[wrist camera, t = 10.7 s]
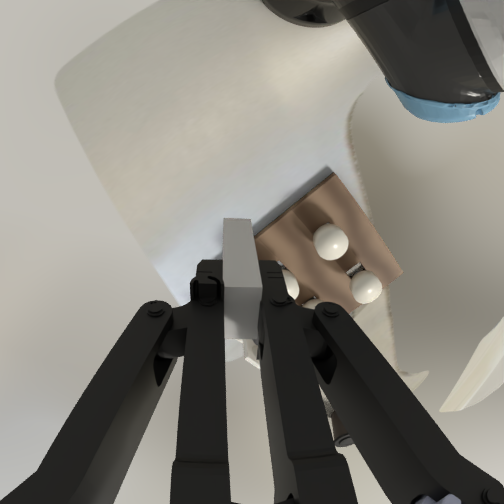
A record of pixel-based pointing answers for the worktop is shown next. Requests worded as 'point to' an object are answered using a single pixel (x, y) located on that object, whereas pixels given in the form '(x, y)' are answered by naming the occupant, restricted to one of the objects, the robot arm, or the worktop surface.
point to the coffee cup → (340, 432)
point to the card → (251, 350)
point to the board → (306, 256)
